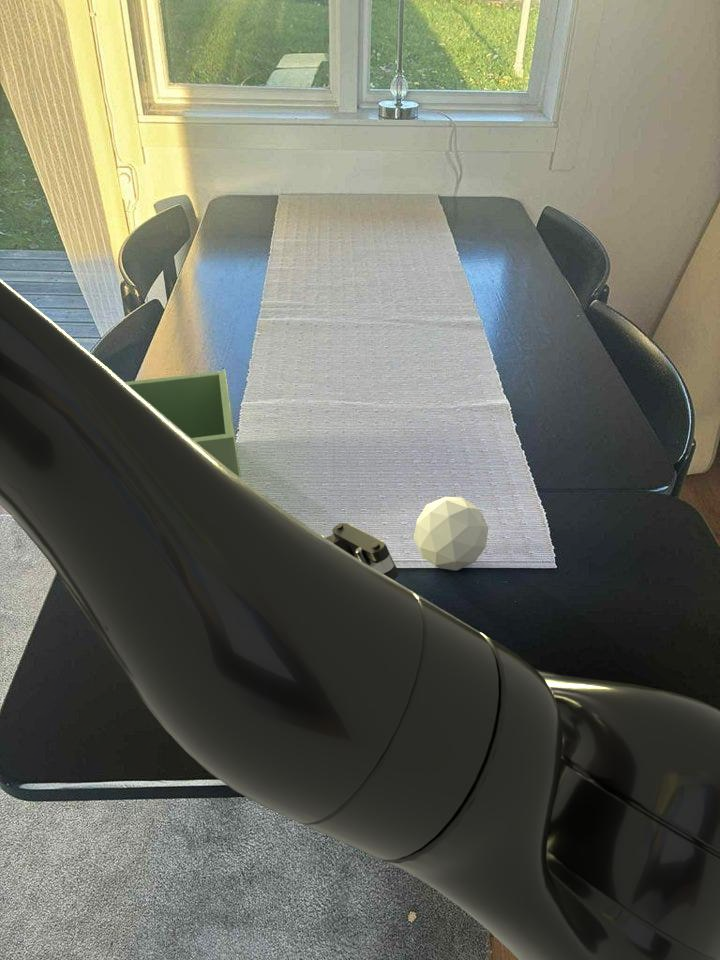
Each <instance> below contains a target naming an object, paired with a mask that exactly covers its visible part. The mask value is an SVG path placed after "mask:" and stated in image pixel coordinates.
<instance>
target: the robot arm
mask: <svg viewBox="0 0 720 960" xmlns="http://www.w3.org/2000/svg"><path fill="white" fill-rule="evenodd" d="M125 382H126V381H124V380H123V379H122V378H121V377H119V375H117V374H116V373H115V372H114V371H113V370H112V369H110V368H109V367H108V366H107V365H106V364H104V363H103V361H101V360H100V359H98V358H97V357H96V356H95V355H93V354H92V353H91V352H90V351H88V349H86V348H85V347H84V346H83V345H81V344H80V343H79V342H77V340H76V339H75V338H73V337H72V336H71V335H69V334H68V333H67V332H66V331H65V330H64V329H62V328H61V326H59V325H58V324H57V323H56V322H54V321H53V320H52V319H51V318H50V317H48V316H47V315H46V314H44V313H43V312H42V311H41V310H39V309H38V308H37V307H36V306H35V305H33V304H32V303H31V302H30V301H28V300H27V299H26V298H25V297H23V296H22V295H21V294H20V293H18V292H17V291H16V290H14V288H12V286H10V285H9V284H7V283H6V282H5V281H4V280H3V279H1V278H0V506H1V507H2V508H3V509H4V510H5V511H6V513H8V514H9V515H10V516H11V517H12V518H13V519H14V521H15V522H16V523H17V524H18V526H19V527H20V528H21V530H23V531H24V533H25V534H26V536H27V537H28V538H30V540H31V541H32V542H33V543H34V545H35V546H36V547H37V548H38V549H39V551H40V552H41V553H42V554H43V556H44V557H45V558H46V560H47V561H48V562H49V564H50V565H51V567H52V568H53V570H54V571H55V572H56V575H58V577H59V578H60V579H61V581H62V583H63V584H64V585H65V587H66V589H67V590H68V591H69V593H70V594H71V596H72V597H73V599H74V600H75V602H76V603H77V604H78V607H80V609H81V610H82V612H83V613H84V615H85V617H86V619H87V620H88V622H89V624H90V625H91V626H92V628H93V629H94V631H95V633H96V634H97V636H98V637H99V639H100V640H101V642H102V644H103V645H104V647H105V649H106V650H107V651H108V653H109V655H110V656H111V658H112V660H114V662H115V664H116V665H117V667H118V668H119V669H120V671H121V672H122V673H123V675H124V677H125V678H126V680H127V681H128V683H129V684H130V685H131V687H132V688H133V690H134V691H135V693H136V694H137V695H138V697H139V699H140V700H141V702H142V703H143V704H144V705H145V707H146V708H147V710H148V711H149V712H150V713H151V714H152V715H153V717H154V718H155V719H156V720H157V722H158V723H159V724H160V725H161V726H162V728H163V729H164V730H165V731H166V732H167V733H168V734H169V736H171V738H172V739H174V741H175V742H176V743H177V744H178V745H179V746H180V747H181V748H182V749H183V750H184V751H185V752H186V753H187V754H188V755H189V756H190V757H191V758H192V759H193V760H195V762H197V763H198V764H199V765H200V766H201V767H202V768H203V769H205V770H206V771H207V773H209V774H211V775H212V776H214V777H215V778H216V779H218V780H219V781H220V782H222V783H223V784H225V785H226V786H227V787H229V788H230V789H232V790H233V791H235V792H236V793H238V794H240V795H241V796H244V797H245V798H246V799H249V800H250V801H252V802H254V803H256V804H257V805H260V806H261V807H263V808H265V809H268V810H270V811H273V812H274V813H276V814H278V815H281V816H283V817H286V818H288V819H290V820H292V821H293V822H297V823H298V824H300V825H303V826H305V827H306V828H307V827H308V828H309V829H312V830H314V831H316V832H317V833H321V834H323V835H325V836H327V837H329V838H332V839H334V840H336V841H339V842H341V843H342V844H345V845H346V846H349V847H352V848H354V849H356V850H358V851H360V852H363V853H365V854H367V855H369V856H371V857H374V858H377V859H379V860H381V861H383V862H385V863H387V864H389V865H391V866H393V867H396V868H398V869H400V870H402V871H403V872H406V873H408V874H409V875H411V876H412V877H415V878H416V879H418V880H419V881H421V882H422V883H424V884H426V885H427V886H429V887H431V888H432V889H434V890H435V891H437V892H438V893H440V894H441V895H443V896H444V897H445V898H446V899H448V900H449V901H450V902H452V903H453V904H455V905H456V906H457V907H459V908H460V909H461V910H463V911H464V912H465V913H466V914H468V915H469V916H470V917H471V918H473V920H475V921H476V922H477V923H478V924H480V925H481V926H482V927H484V928H485V929H486V930H487V931H488V932H489V933H490V934H491V935H492V936H493V937H495V938H496V939H497V940H498V941H499V942H500V943H501V944H502V945H503V946H504V947H505V948H506V949H507V950H509V951H510V953H511V954H512V955H513V956H514V957H515V958H516V959H517V960H720V709H718V708H717V707H715V706H713V705H711V704H708V703H706V702H703V701H702V700H699V699H696V698H694V697H690V696H688V695H684V694H681V693H677V692H674V691H670V690H664V689H659V688H654V687H649V686H644V685H639V684H633V683H627V682H626V683H625V682H618V681H613V680H604V679H603V680H602V679H594V678H586V677H579V676H577V677H576V676H569V675H565V674H557V673H553V672H549V671H544V670H541V669H536V668H535V667H533V666H532V665H531V664H530V663H529V662H527V661H526V660H525V659H524V658H523V657H521V656H520V655H518V653H516V652H514V651H512V650H511V649H509V648H507V647H506V646H505V645H502V644H501V643H500V642H498V641H496V640H494V639H493V638H491V637H490V636H487V635H486V634H484V633H483V632H481V631H479V630H478V629H476V628H474V627H473V626H471V625H470V624H468V623H466V622H464V621H463V620H461V619H460V618H457V617H456V616H455V615H453V614H452V613H449V612H448V611H446V610H445V609H443V608H441V607H439V606H438V605H436V604H434V603H432V602H431V601H430V600H427V599H426V598H424V597H423V596H421V595H420V594H417V593H416V592H414V591H413V590H411V589H409V588H408V587H405V586H404V585H403V584H401V583H399V582H397V581H395V580H396V579H397V578H398V577H399V575H400V572H399V570H398V568H397V566H396V563H395V561H394V559H393V557H392V555H391V552H390V551H389V548H388V546H387V544H386V542H385V541H383V540H381V539H380V538H378V537H375V536H374V535H372V534H370V533H368V532H366V531H363V530H362V529H360V528H358V527H356V526H355V525H352V524H350V523H348V522H340V523H338V524H337V525H335V526H334V527H333V528H332V531H331V532H332V534H331V535H329V536H327V537H324V535H322V534H320V533H318V532H316V531H315V530H313V529H312V528H310V527H309V526H308V525H306V524H304V523H303V522H302V521H301V520H299V519H297V518H296V517H295V516H293V515H292V514H290V513H288V511H286V510H284V509H283V508H282V507H280V506H279V505H277V504H276V503H274V502H273V501H272V500H270V499H269V498H267V497H266V496H264V495H263V494H262V493H261V492H259V491H258V490H257V489H255V488H254V487H252V486H251V484H249V483H247V482H246V481H245V480H243V479H242V477H241V476H240V477H238V476H237V475H236V474H235V473H233V472H232V471H231V470H230V469H228V468H227V467H226V466H225V465H223V464H222V463H221V462H220V461H218V460H217V459H216V458H215V457H214V456H212V455H211V454H210V453H209V452H207V451H206V450H205V449H204V448H203V447H201V446H200V445H199V444H198V443H196V442H195V441H194V440H193V439H192V438H190V437H189V436H188V435H187V434H185V433H184V432H183V431H182V430H181V429H179V428H178V427H177V426H176V425H175V424H173V423H172V422H171V421H170V420H169V419H168V418H166V417H165V416H164V415H163V414H162V413H160V412H159V411H158V410H157V409H156V408H154V407H153V406H152V405H151V404H150V403H148V402H147V401H146V400H145V399H144V398H143V397H141V396H140V395H139V394H138V393H137V392H136V391H134V390H133V389H132V388H131V387H130V386H129V385H128V384H126V383H125Z"/></svg>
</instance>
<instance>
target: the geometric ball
mask: <svg viewBox="0 0 720 960" xmlns="http://www.w3.org/2000/svg"><path fill="white" fill-rule="evenodd" d="M488 535H489V526H488V523H487V521H486V519H485V517H484V515H483V513H482V510H481V509H480V508H479V507H478V506H476V505H474V504H473V503H471V502H470V501H468V500H467V499H465V498H463V497H455V496H454V497H453V496H444V497H441V498H439V499H437V500H434V501H432V502H430V503H427V504H426V505H425V506H424V508H423V509H422V512H420V514H419V517H418V518H417V519H416V524H415V529H414V534H413V540H414V542H415V545H416V547H417V549H418V551H419V554H420V555H421V557H422V558H423V559H424V560H426V561H427V562H429V563H431V564H432V565H434V566H435V567H436V568H438V569H443V570H449V571H456V572H457V571H459V570H461V569H463V568H465V567H467V566H469V565H471V564H474V563H476V561H477V560H478V559H479V557H480V556H481V554H482V553H483V552H484V550H485V549H486V547H487V542H488V537H489V536H488Z"/></svg>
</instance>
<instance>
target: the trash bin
mask: <svg viewBox="0 0 720 960" xmlns="http://www.w3.org/2000/svg"><path fill="white" fill-rule="evenodd" d="M124 382H125V383H126V384H128V385H129V386H130V387H131V388H132V389H133V390H134V391H136V392H137V393H138V394H139V395H140V396H141V397H143V398H144V399H145V400H146V401H147V402H148V403H150V404H151V405H152V406H153V407H154V408H156V409H157V410H158V411H159V412H160V413H162V414H163V415H164V416H165V417H166V418H168V419H169V420H170V421H171V422H172V423H173V424H175V425H176V426H177V427H178V428H179V429H181V430H182V431H183V432H184V433H185V434H187V435H188V436H189V437H190V438H192V439H193V440H194V441H195V442H196V443H198V444H199V445H200V446H201V447H203V448H204V449H205V450H206V451H207V452H209V453H210V454H211V455H212V456H214V457H215V458H216V459H217V460H218V461H220V462H221V463H222V464H223V465H225V466H226V467H227V468H228V469H230V470H231V471H232V472H233V473H235V474H236V475H237V476H238V477H240V478H241V472H240V471H241V470H240V463H239V455H238V447H237V441H236V440H237V439H236V434H235V427H234V421H233V420H234V419H233V414H232V413H233V412H232V406H231V400H230V393H229V387H228V381H227V374H226V370H219V371H211V372H201V373H193V374H192V373H191V374H185V375H175V376H174V375H173V376H165V377H158V378H149V379H139V380H131V381H124Z"/></svg>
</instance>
